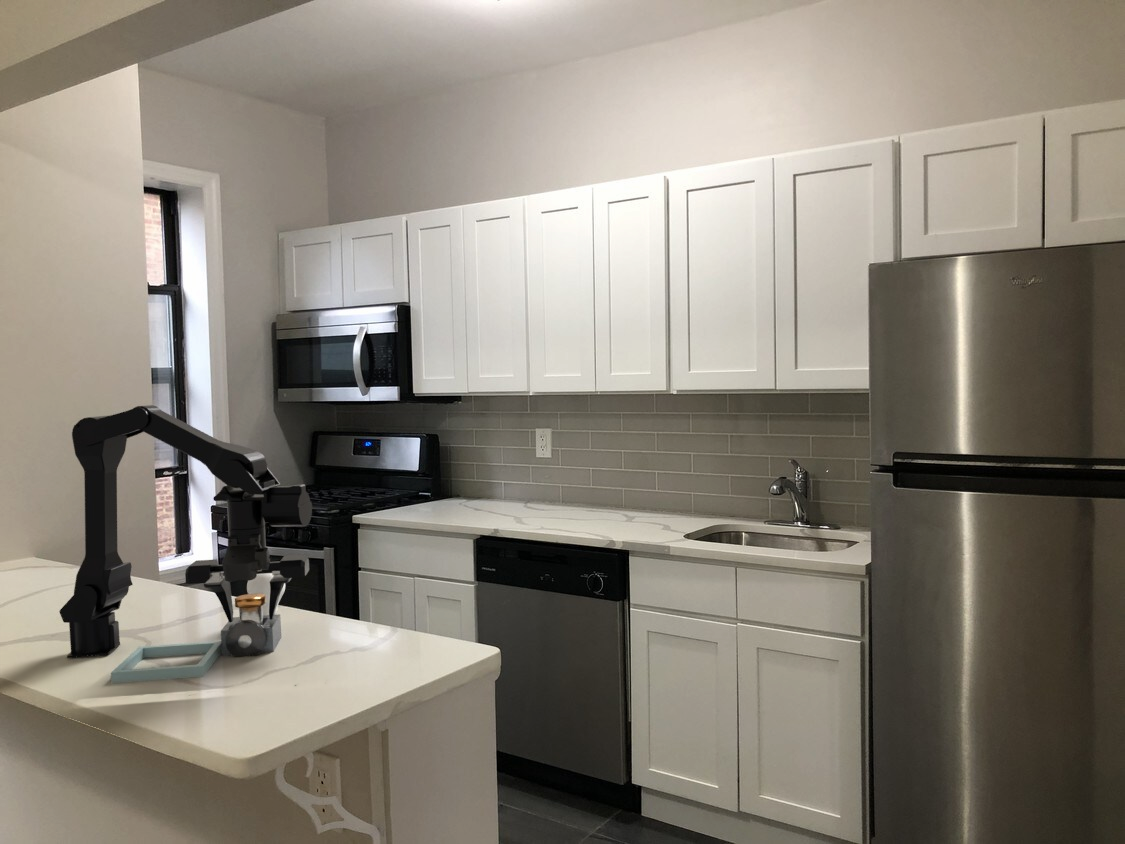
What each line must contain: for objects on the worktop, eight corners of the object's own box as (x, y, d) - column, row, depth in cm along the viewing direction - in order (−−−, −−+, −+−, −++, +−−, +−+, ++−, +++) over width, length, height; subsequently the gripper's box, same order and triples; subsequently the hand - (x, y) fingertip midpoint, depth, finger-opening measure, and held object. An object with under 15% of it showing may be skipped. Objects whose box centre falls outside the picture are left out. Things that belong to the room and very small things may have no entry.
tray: (111, 689, 134) (110, 672, 134) (139, 661, 147) (138, 646, 147) (203, 682, 136) (202, 666, 136) (223, 655, 149) (222, 640, 149)
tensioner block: (219, 665, 144) (217, 625, 144) (232, 646, 154) (231, 608, 153) (271, 661, 145) (269, 621, 145) (281, 643, 155) (279, 605, 155)
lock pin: (234, 651, 148) (231, 601, 147) (240, 642, 152) (238, 594, 152) (265, 649, 148) (262, 599, 148) (270, 640, 153) (267, 592, 153)
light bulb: (275, 633, 161) (272, 572, 160) (241, 632, 162) (238, 571, 162) (294, 623, 167) (291, 564, 167) (261, 622, 169) (258, 563, 168)
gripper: (173, 538, 140) (178, 638, 141) (298, 532, 143) (302, 630, 143) (192, 526, 151) (196, 619, 152) (307, 521, 154) (311, 611, 154)
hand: (251, 620), depth 150 cm, fingers open, 6 cm apart
